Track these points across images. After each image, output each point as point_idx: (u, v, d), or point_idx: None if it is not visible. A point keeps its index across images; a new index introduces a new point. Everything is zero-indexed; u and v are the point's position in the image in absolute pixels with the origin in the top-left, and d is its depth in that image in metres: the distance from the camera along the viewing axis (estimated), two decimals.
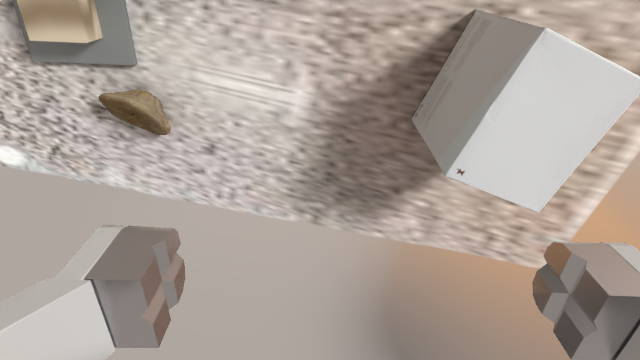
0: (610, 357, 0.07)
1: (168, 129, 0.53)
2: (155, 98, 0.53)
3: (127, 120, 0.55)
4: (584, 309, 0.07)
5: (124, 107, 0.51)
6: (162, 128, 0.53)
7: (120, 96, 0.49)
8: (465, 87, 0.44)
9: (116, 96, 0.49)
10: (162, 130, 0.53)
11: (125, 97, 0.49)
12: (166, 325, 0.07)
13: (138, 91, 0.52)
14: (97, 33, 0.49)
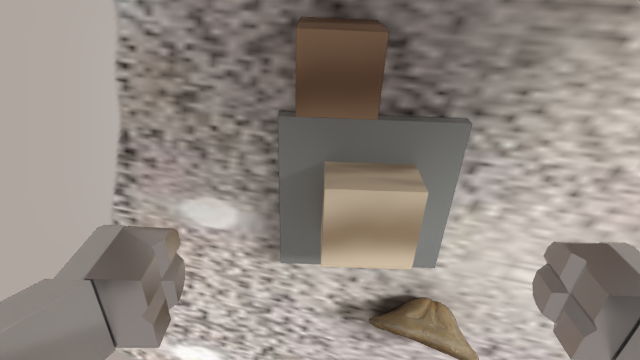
0: (610, 357, 0.07)
1: None
2: (449, 311, 0.35)
3: (392, 332, 0.38)
4: (584, 309, 0.07)
5: None
6: None
7: (430, 334, 0.32)
8: None
9: (424, 334, 0.32)
10: (458, 358, 0.36)
11: (440, 338, 0.31)
12: (166, 325, 0.07)
13: (430, 306, 0.35)
14: None
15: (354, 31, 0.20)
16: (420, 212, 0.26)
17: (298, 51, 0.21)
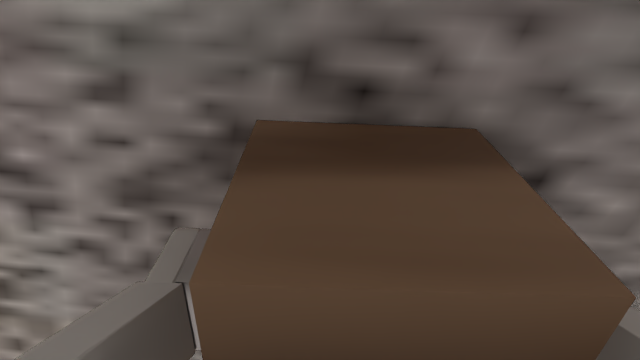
0: None
1: None
2: None
3: None
4: None
5: None
6: None
7: None
8: None
9: None
10: None
11: None
12: None
13: None
14: None
15: (470, 288, 0.04)
16: None
17: (212, 352, 0.05)
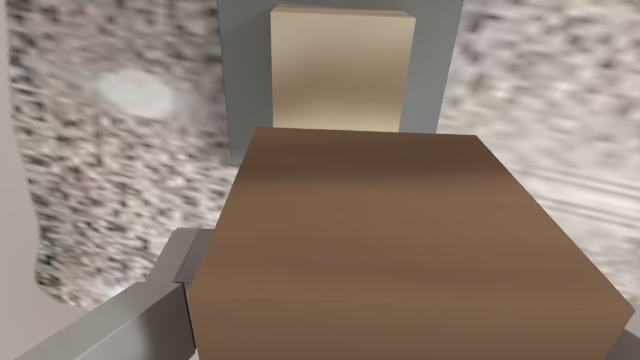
0: None
1: None
2: None
3: None
4: None
5: None
6: None
7: None
8: None
9: None
10: None
11: None
12: None
13: None
14: None
15: (469, 301, 0.04)
16: (404, 54, 0.19)
17: None
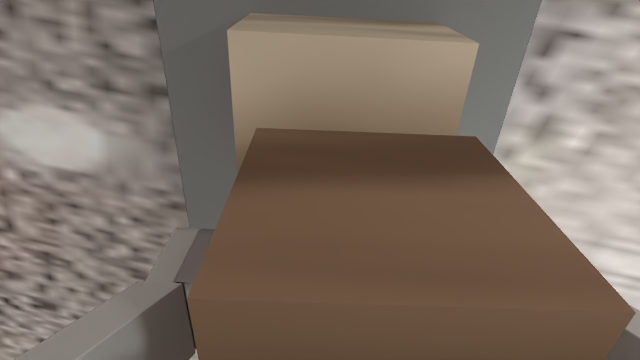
0: None
1: None
2: None
3: None
4: None
5: None
6: None
7: None
8: None
9: None
10: None
11: None
12: None
13: None
14: None
15: (468, 303, 0.04)
16: (455, 102, 0.11)
17: None
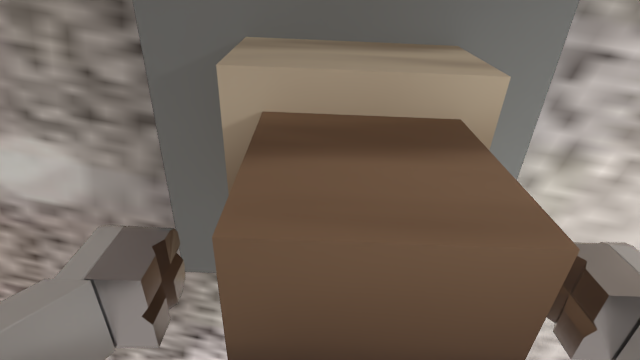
0: (610, 357, 0.07)
1: None
2: None
3: None
4: (584, 309, 0.07)
5: None
6: None
7: None
8: None
9: None
10: None
11: None
12: (166, 325, 0.07)
13: None
14: None
15: (443, 243, 0.05)
16: (481, 141, 0.10)
17: (229, 300, 0.06)
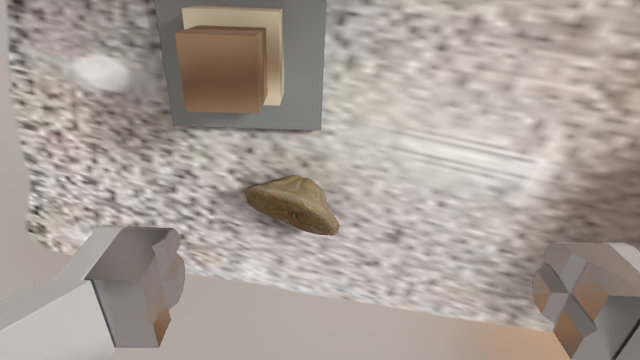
0: (610, 357, 0.07)
1: None
2: (319, 188, 0.38)
3: (270, 213, 0.39)
4: (584, 309, 0.07)
5: (286, 206, 0.35)
6: (330, 232, 0.37)
7: (287, 193, 0.34)
8: None
9: (281, 193, 0.34)
10: (327, 233, 0.38)
11: (295, 195, 0.33)
12: (166, 325, 0.07)
13: (298, 179, 0.37)
14: (282, 87, 0.33)
15: (226, 35, 0.23)
16: (275, 36, 0.28)
17: (179, 53, 0.24)
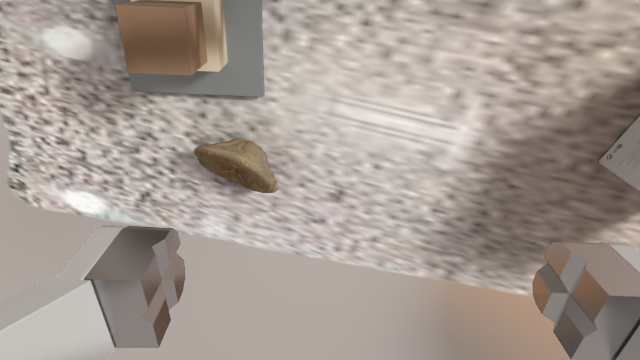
0: (610, 357, 0.07)
1: (275, 190, 0.43)
2: (261, 150, 0.43)
3: (220, 173, 0.44)
4: (584, 309, 0.07)
5: (228, 164, 0.40)
6: (270, 189, 0.42)
7: (227, 152, 0.39)
8: None
9: (222, 151, 0.39)
10: (267, 190, 0.43)
11: (234, 153, 0.38)
12: (166, 325, 0.07)
13: (242, 141, 0.42)
14: (225, 57, 0.37)
15: (158, 7, 0.28)
16: (209, 10, 0.32)
17: (120, 22, 0.28)
